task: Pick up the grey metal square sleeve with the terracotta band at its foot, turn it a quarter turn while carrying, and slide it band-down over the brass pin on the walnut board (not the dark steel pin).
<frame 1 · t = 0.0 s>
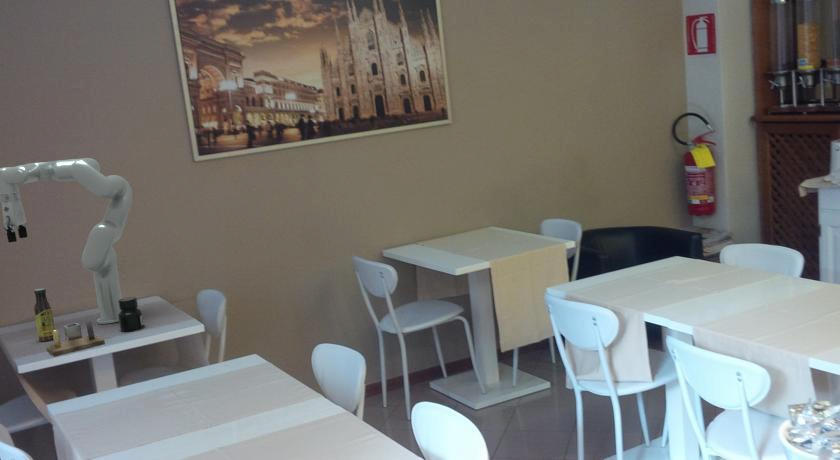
hand: (18, 239, 366), 37 cm above the table, tool pointing down, fingers open, 9 cm apart
sleeve: (74, 340, 344), on the table
ink bottle: (132, 329, 352), on the table
sauce bottle: (48, 339, 351), on the table
brass pin: (58, 351, 331), resting on pin board
pin board: (75, 347, 334), on the table
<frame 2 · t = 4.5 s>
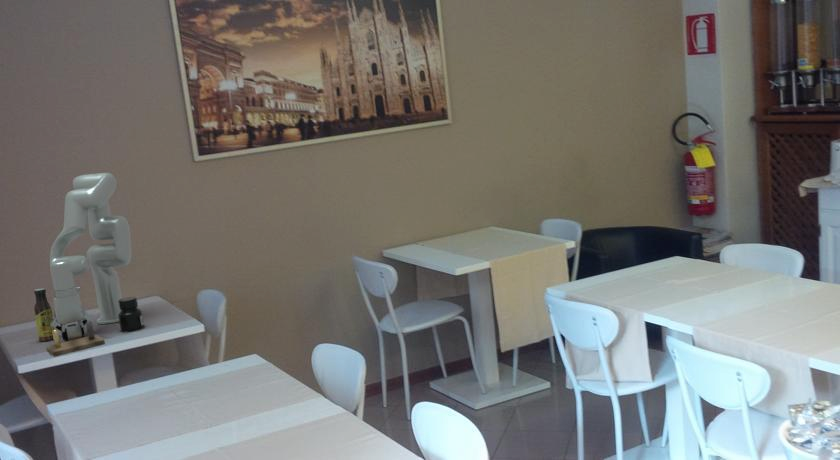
hand: (74, 339, 344), 1 cm above the table, tool pointing down, fingers closed on sleeve, 5 cm apart
sleeve: (74, 340, 344), on the table, touching gripper
everything else where it was.
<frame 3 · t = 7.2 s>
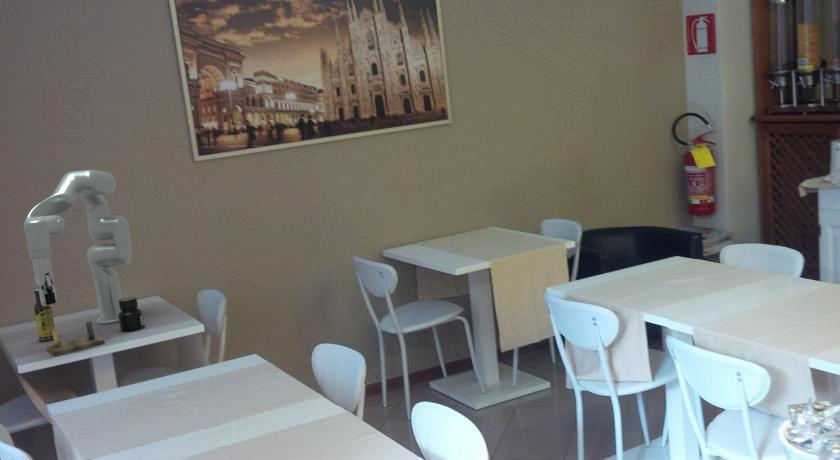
hand: (49, 302, 327), 18 cm above the table, tool pointing down, fingers closed on sleeve, 5 cm apart
sleeve: (49, 304, 328), point 18 cm above the table, touching gripper
everything else where it was.
when the fingers open (3 cm above the table, at t = 10.1 s): sleeve stays where it is, resting on pin board.
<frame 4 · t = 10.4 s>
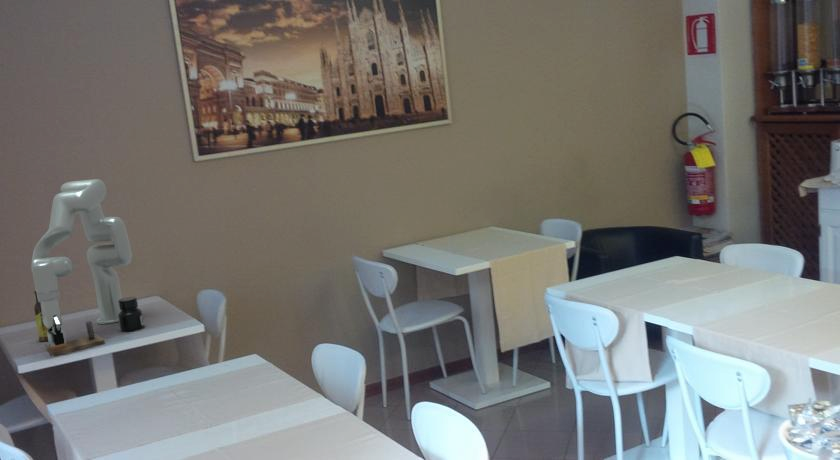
hand: (57, 342, 330), 4 cm above the table, tool pointing down, fingers open, 8 cm apart
sleeve: (58, 347, 330), point 1 cm above the table, touching pin board
everything else where it was.
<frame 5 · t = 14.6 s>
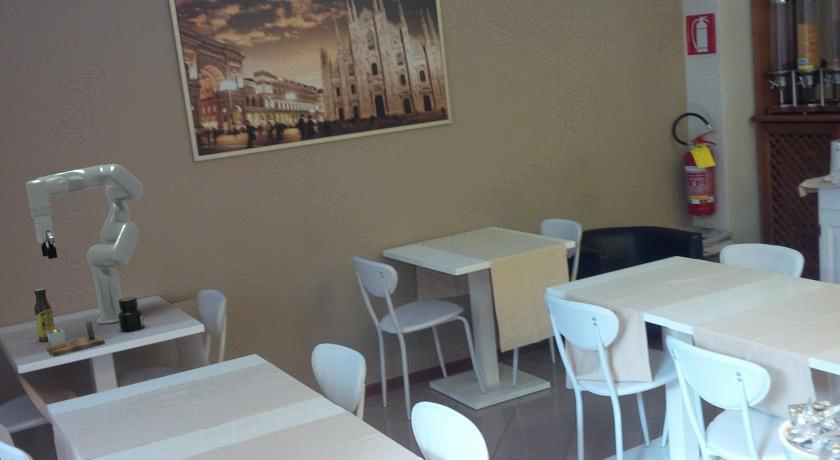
hand: (50, 257, 343), 32 cm above the table, tool pointing down, fingers open, 9 cm apart
nothing on the table moved.
at the end: sleeve 0.1 cm from the brass pin (horizontally); sleeve point 1.5 cm above the table; sleeve tilted 0° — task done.
